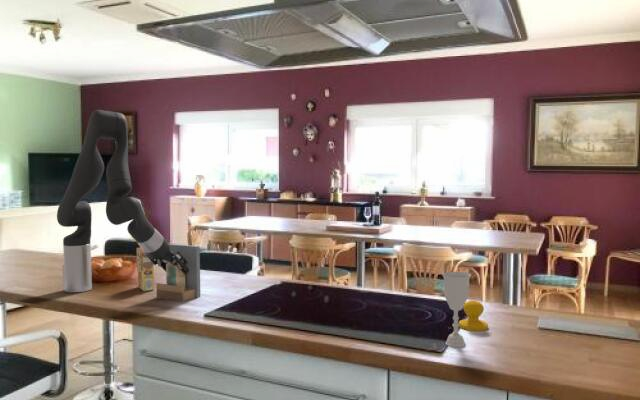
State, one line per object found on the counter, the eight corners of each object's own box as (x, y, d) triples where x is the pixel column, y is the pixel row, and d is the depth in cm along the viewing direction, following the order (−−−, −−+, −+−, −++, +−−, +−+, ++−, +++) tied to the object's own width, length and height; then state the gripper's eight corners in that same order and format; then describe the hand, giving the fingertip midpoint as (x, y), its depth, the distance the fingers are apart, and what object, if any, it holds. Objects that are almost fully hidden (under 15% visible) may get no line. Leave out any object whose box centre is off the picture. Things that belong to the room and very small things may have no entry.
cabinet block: (166, 289, 185) (165, 264, 184) (174, 287, 189) (174, 262, 188) (177, 290, 183) (176, 265, 182) (185, 288, 186) (184, 263, 186)
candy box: (154, 290, 197) (153, 249, 196) (143, 291, 195) (142, 250, 194) (148, 285, 204) (147, 246, 204) (136, 287, 202) (135, 247, 201)
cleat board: (154, 297, 186) (153, 246, 185) (170, 292, 193) (169, 243, 192) (185, 301, 180) (184, 249, 178) (200, 296, 187) (199, 246, 185)
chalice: (465, 339, 139) (466, 271, 138) (474, 348, 132) (474, 277, 131) (438, 339, 139) (438, 272, 138) (445, 348, 132) (445, 277, 131)
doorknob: (454, 328, 149) (463, 321, 156) (483, 332, 145) (491, 325, 151) (455, 302, 149) (464, 296, 155) (483, 306, 144) (491, 299, 151)
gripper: (174, 235, 174) (198, 264, 185) (143, 233, 181) (167, 261, 192) (163, 253, 170) (188, 282, 181) (131, 250, 176) (157, 278, 187)
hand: (177, 271), depth 186 cm, fingers open, 8 cm apart
